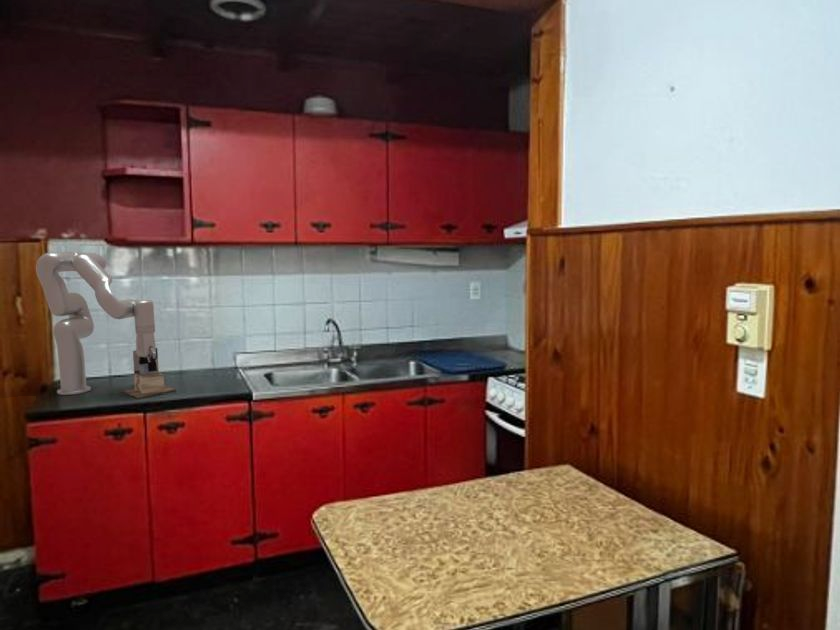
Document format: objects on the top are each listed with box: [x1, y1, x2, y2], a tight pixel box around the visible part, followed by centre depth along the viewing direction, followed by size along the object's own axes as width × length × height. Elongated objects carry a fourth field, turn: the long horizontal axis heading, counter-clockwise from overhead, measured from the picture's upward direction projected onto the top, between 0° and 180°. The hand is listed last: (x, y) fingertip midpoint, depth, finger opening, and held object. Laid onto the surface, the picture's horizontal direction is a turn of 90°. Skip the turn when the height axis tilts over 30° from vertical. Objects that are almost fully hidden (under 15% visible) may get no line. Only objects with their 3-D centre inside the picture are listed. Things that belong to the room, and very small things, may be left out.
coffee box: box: [132, 347, 160, 375], centre depth 270 cm, size 9×6×16 cm
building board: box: [122, 371, 177, 399], centre depth 256 cm, size 16×16×8 cm
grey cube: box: [139, 363, 156, 377], centre depth 255 cm, size 5×5×5 cm
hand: (148, 369), depth 255 cm, fingers open, 9 cm apart
